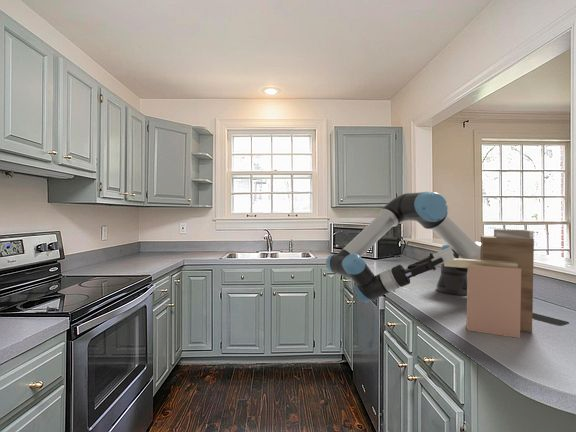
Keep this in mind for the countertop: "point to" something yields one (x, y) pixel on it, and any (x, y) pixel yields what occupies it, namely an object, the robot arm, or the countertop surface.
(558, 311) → the countertop surface
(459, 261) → the slat
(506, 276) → the pink rectangular box
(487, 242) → the stand
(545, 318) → the smartphone
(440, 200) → the robot arm
